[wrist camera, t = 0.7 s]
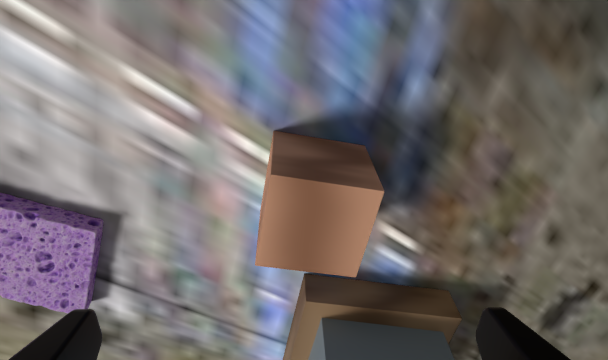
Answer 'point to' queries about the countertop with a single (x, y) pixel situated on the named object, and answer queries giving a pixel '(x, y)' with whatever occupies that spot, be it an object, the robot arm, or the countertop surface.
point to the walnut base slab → (366, 309)
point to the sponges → (47, 254)
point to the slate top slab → (376, 342)
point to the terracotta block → (317, 205)
